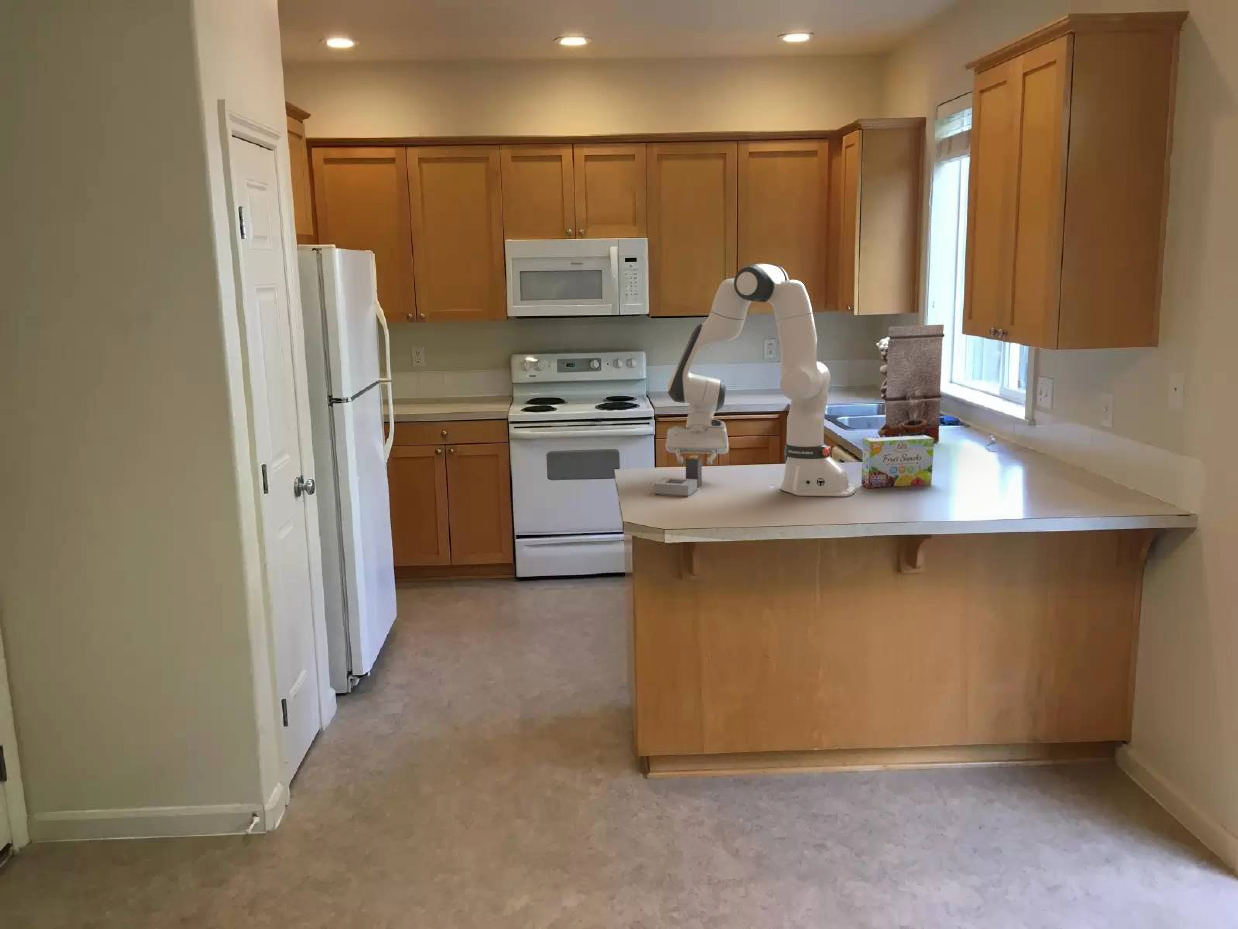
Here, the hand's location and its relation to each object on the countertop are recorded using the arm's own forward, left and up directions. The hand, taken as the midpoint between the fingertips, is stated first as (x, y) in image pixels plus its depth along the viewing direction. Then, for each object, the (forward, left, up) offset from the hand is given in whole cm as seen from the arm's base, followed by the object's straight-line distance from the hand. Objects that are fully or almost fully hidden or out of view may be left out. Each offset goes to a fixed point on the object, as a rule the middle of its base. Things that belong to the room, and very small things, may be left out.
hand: (694, 462), depth 299 cm
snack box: (-60, -17, -7) cm, 63 cm away
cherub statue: (-53, -96, -7) cm, 110 cm away
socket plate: (+2, +13, -7) cm, 15 cm away
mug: (-59, -52, -7) cm, 79 cm away
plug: (0, +2, -7) cm, 7 cm away
